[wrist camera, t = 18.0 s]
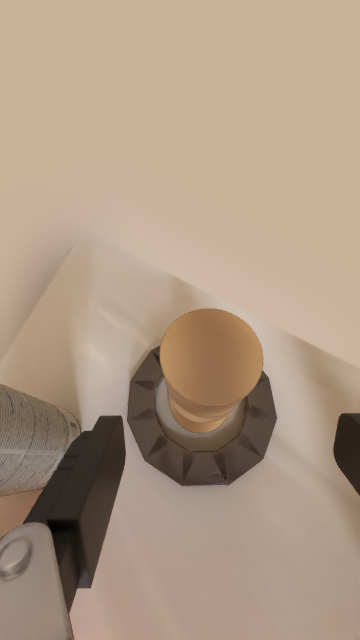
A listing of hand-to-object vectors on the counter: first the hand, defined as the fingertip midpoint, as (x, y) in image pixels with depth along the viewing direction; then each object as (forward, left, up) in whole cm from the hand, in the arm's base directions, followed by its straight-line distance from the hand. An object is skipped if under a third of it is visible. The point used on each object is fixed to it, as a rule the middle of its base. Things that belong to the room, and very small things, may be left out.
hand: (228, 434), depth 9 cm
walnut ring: (0, -4, -15) cm, 16 cm away
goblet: (0, -4, -15) cm, 16 cm away
